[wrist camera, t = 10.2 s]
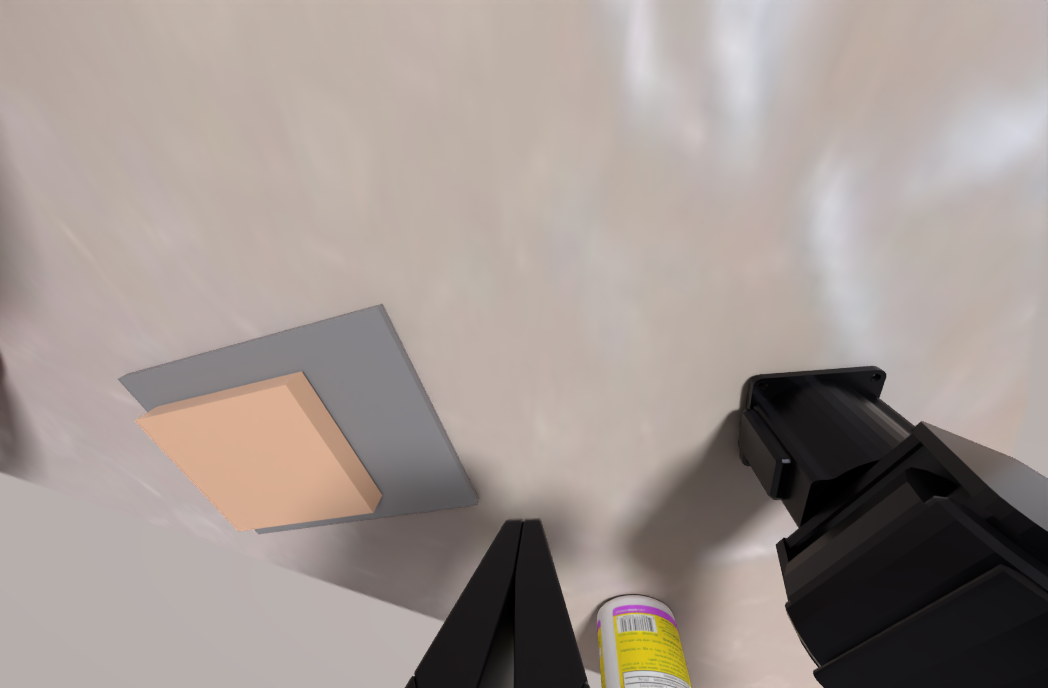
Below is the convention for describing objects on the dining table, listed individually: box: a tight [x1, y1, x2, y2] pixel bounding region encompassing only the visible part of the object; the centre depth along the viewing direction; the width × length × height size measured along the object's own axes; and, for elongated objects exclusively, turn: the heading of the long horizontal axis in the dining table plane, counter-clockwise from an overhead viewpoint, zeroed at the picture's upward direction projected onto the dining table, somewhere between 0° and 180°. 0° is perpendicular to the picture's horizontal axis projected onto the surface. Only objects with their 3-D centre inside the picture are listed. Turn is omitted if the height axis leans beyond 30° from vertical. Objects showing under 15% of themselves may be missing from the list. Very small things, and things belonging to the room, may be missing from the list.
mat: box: [118, 304, 479, 534], centre depth 26 cm, size 20×16×1 cm
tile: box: [135, 371, 382, 531], centre depth 26 cm, size 2×11×12 cm
